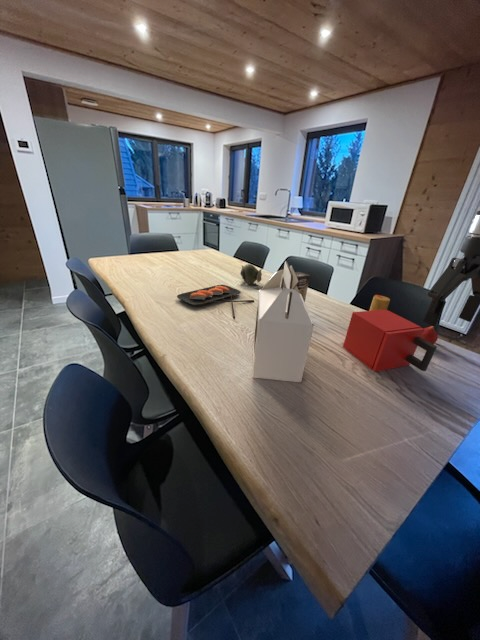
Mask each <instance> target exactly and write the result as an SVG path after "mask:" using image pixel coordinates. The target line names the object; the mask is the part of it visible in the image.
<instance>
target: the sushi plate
mask: <svg viewBox="0 0 480 640" xmlns="http://www.w3.org/2000/svg"><path fill="white" fill-rule="evenodd" d="M241 293H242V291H241V290H239V289H237V288H234V287H231V286H229V285H226V284H217V285H213V286H209V287H204V288H200V289H195V290H191V291H186V292H183V293H180V294H177V295H176V297H177V298H178V300H180V301H182V302H184V303H186V304H188V305H190V306H194V307H195V306H197V307H198V306H202V305H205V304H209V303H231V311H232V317H233V319H235V318H236V314H235V309H234V303H254V302H255V300H254V299H248V300H247V299H245V300H243V299H242V300H233V297H234V296H237V295H240V294H241ZM228 298H230V300H225V299H228Z"/></svg>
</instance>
